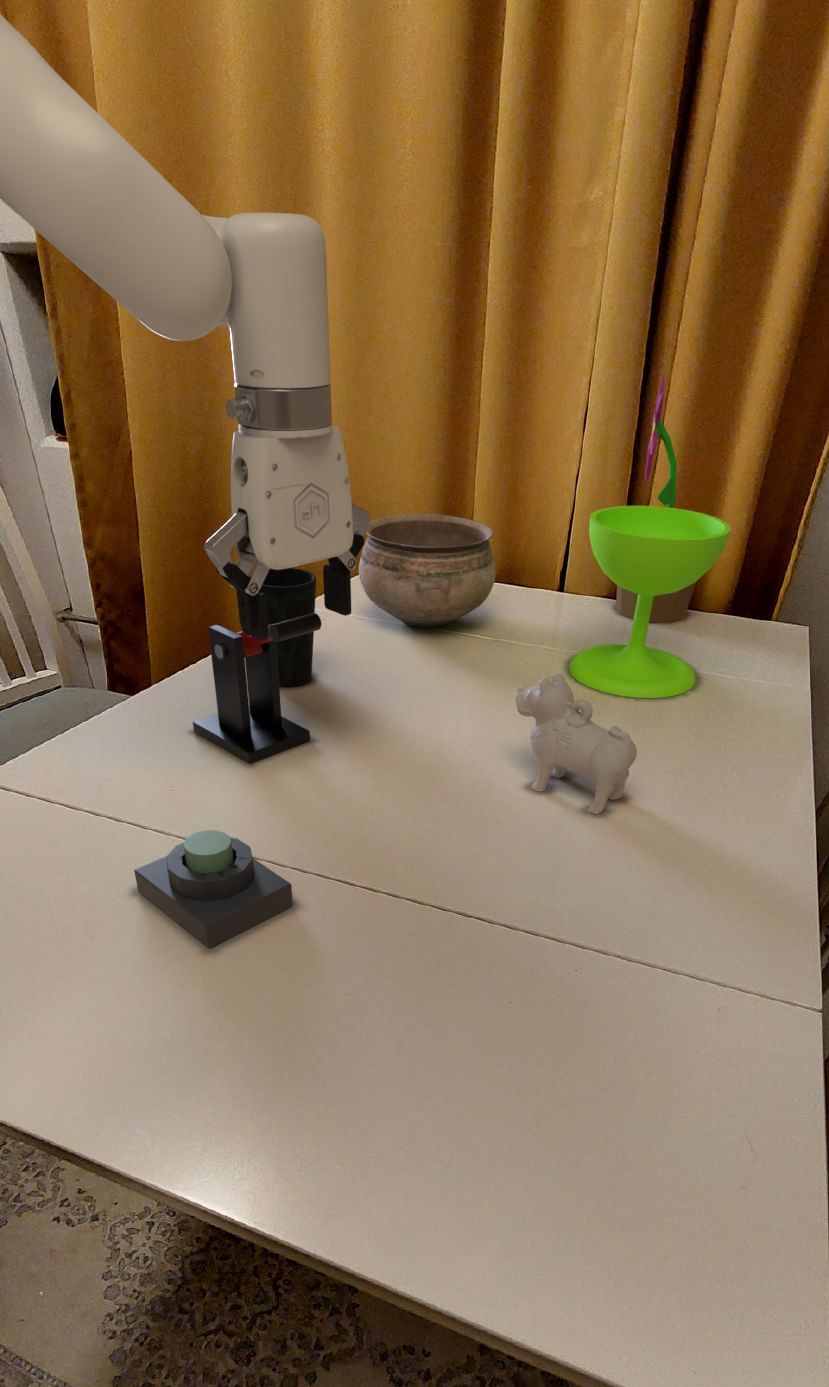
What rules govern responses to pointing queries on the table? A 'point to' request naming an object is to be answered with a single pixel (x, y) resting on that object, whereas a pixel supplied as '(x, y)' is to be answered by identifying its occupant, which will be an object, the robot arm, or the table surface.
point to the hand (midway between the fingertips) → (298, 623)
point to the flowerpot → (677, 602)
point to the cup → (288, 600)
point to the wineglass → (647, 591)
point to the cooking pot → (427, 567)
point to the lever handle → (281, 632)
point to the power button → (208, 851)
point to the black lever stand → (238, 721)
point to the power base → (214, 893)
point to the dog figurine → (574, 740)
